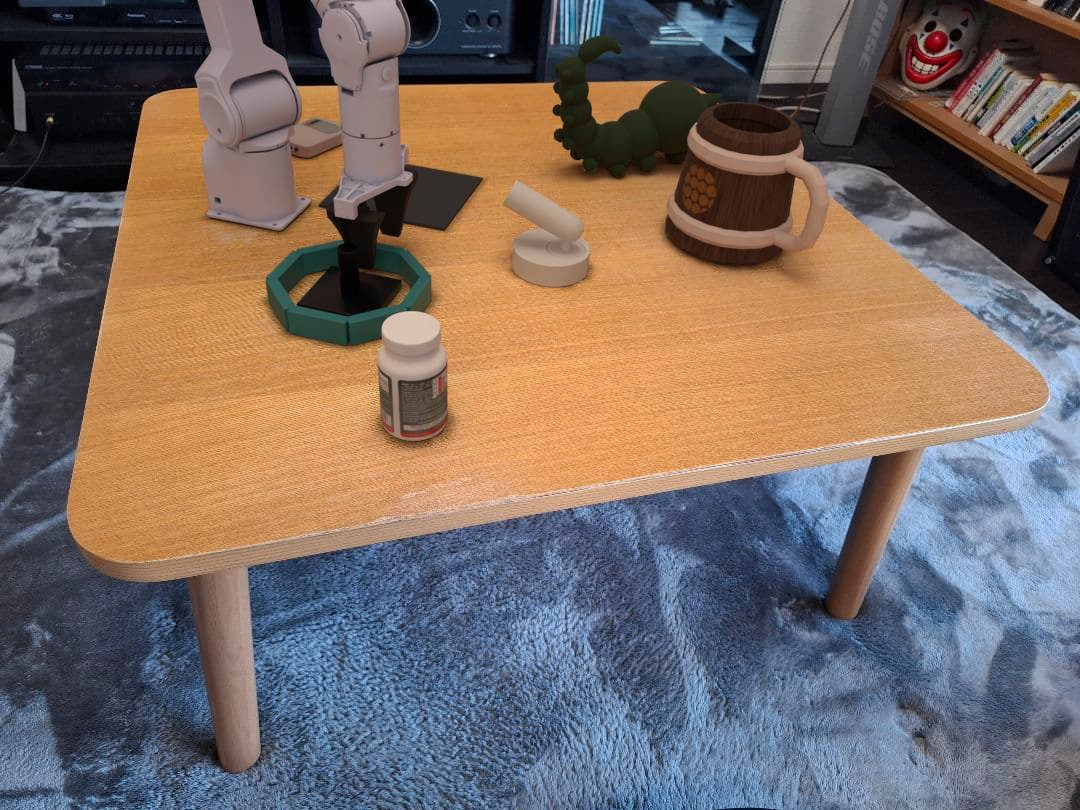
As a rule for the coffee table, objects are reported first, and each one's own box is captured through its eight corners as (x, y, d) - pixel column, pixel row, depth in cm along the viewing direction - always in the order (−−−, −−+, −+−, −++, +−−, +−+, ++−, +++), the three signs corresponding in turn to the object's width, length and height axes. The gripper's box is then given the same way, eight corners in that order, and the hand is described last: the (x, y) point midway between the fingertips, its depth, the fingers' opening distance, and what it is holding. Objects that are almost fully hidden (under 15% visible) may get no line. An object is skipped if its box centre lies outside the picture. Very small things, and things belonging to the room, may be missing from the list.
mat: (318, 206, 104) (318, 204, 104) (368, 158, 115) (368, 156, 115) (444, 230, 101) (444, 228, 101) (482, 179, 113) (482, 177, 113)
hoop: (245, 324, 84) (241, 301, 82) (315, 250, 96) (313, 229, 94) (393, 356, 82) (392, 333, 80) (446, 277, 94) (446, 256, 92)
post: (297, 311, 86) (290, 259, 83) (331, 273, 92) (327, 222, 89) (372, 327, 85) (369, 275, 81) (402, 287, 91) (400, 236, 87)
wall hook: (513, 163, 95) (602, 176, 94) (509, 240, 101) (593, 254, 100) (494, 196, 88) (590, 211, 87) (491, 277, 94) (581, 292, 93)
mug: (636, 228, 105) (655, 107, 96) (718, 199, 113) (743, 85, 104) (762, 303, 94) (798, 174, 85) (843, 265, 102) (885, 143, 92)
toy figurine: (572, 201, 114) (733, 165, 121) (575, 55, 101) (754, 25, 108) (543, 171, 120) (698, 139, 127) (542, 31, 107) (714, 3, 115)
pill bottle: (457, 411, 76) (459, 317, 70) (431, 451, 72) (429, 355, 66) (399, 394, 77) (395, 301, 71) (369, 432, 73) (362, 337, 67)
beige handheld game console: (368, 133, 122) (367, 112, 120) (286, 168, 111) (284, 146, 109) (332, 121, 124) (331, 100, 122) (250, 154, 114) (246, 132, 112)
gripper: (380, 163, 78) (386, 291, 87) (434, 109, 89) (435, 227, 98) (308, 150, 79) (321, 277, 88) (371, 98, 90) (377, 216, 99)
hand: (377, 250), depth 93 cm, fingers open, 7 cm apart
